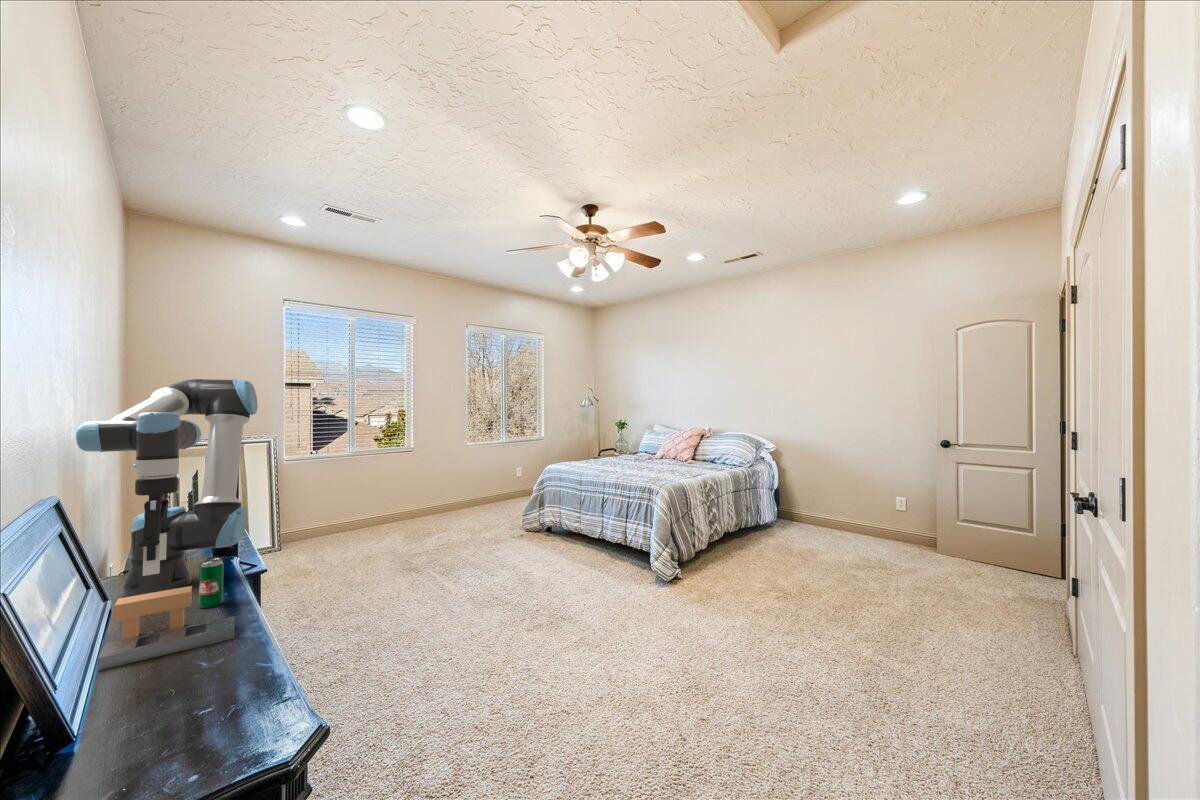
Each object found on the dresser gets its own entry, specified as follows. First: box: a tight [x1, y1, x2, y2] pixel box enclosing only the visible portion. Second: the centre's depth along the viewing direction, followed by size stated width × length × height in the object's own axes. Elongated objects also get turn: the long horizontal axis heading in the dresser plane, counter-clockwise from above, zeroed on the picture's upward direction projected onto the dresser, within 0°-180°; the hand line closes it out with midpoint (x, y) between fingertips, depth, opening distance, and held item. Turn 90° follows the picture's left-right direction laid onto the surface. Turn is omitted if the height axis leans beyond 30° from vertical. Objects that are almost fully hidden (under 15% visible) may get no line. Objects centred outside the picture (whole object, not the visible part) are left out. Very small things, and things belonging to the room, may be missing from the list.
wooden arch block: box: [113, 585, 193, 640], centre depth 112 cm, size 5×13×9 cm, turn 128°
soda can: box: [198, 557, 224, 609], centre depth 128 cm, size 5×5×12 cm
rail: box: [96, 615, 236, 672], centre depth 106 cm, size 8×22×2 cm, turn 128°
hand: (155, 567), depth 112 cm, fingers open, 13 cm apart
